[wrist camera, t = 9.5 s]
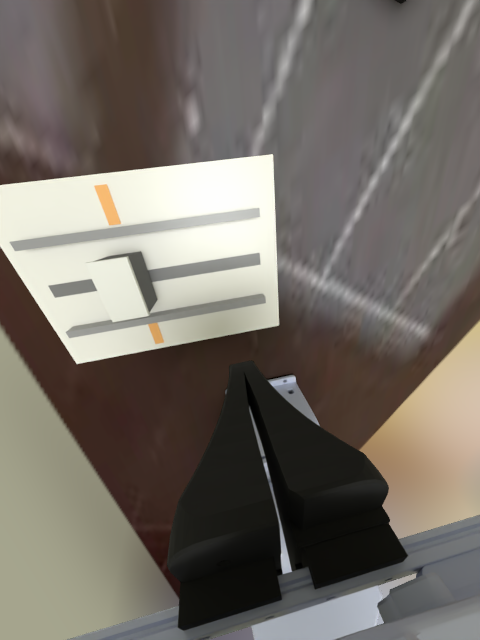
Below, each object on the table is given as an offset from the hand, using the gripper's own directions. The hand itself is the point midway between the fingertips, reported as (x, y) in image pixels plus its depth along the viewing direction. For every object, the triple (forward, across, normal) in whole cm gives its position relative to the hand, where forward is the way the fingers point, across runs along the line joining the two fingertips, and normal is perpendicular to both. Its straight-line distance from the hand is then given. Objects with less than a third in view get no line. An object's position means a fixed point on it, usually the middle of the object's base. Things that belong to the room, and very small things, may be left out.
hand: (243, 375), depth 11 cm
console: (+10, +5, -5) cm, 12 cm away
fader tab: (+8, +7, -5) cm, 12 cm away
